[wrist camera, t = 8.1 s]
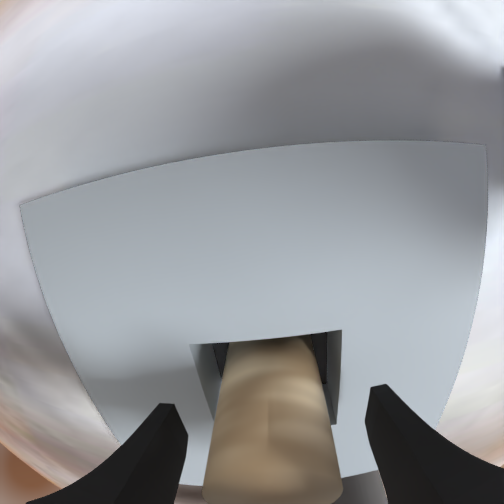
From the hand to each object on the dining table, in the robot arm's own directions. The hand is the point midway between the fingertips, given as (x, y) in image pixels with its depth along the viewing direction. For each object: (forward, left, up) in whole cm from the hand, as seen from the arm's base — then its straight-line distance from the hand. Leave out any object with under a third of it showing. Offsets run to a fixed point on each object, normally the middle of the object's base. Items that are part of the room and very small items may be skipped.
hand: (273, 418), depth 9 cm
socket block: (0, 0, -4) cm, 4 cm away
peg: (0, 0, -4) cm, 4 cm away
